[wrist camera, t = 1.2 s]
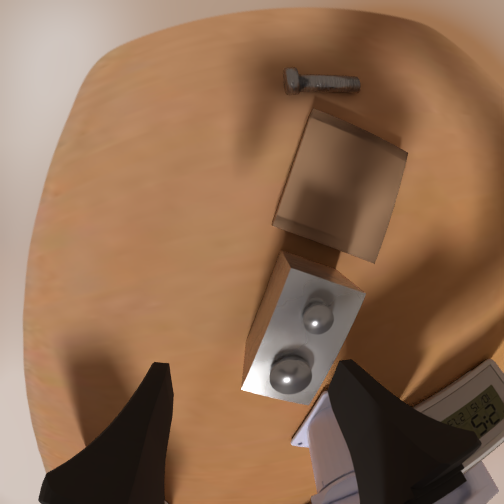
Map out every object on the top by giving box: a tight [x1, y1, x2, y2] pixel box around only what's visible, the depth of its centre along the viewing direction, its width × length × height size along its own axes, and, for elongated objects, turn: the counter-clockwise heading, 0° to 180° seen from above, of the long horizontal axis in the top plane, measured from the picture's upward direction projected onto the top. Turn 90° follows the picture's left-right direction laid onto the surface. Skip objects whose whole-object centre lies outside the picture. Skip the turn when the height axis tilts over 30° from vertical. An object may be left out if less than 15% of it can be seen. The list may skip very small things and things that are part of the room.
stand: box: [272, 108, 408, 264], centre depth 18 cm, size 8×9×2 cm
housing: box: [241, 250, 366, 405], centre depth 17 cm, size 4×8×7 cm, turn 161°
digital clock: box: [413, 359, 504, 473], centre depth 17 cm, size 16×9×11 cm, turn 100°
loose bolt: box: [283, 68, 360, 95], centre depth 17 cm, size 6×2×2 cm, turn 96°
